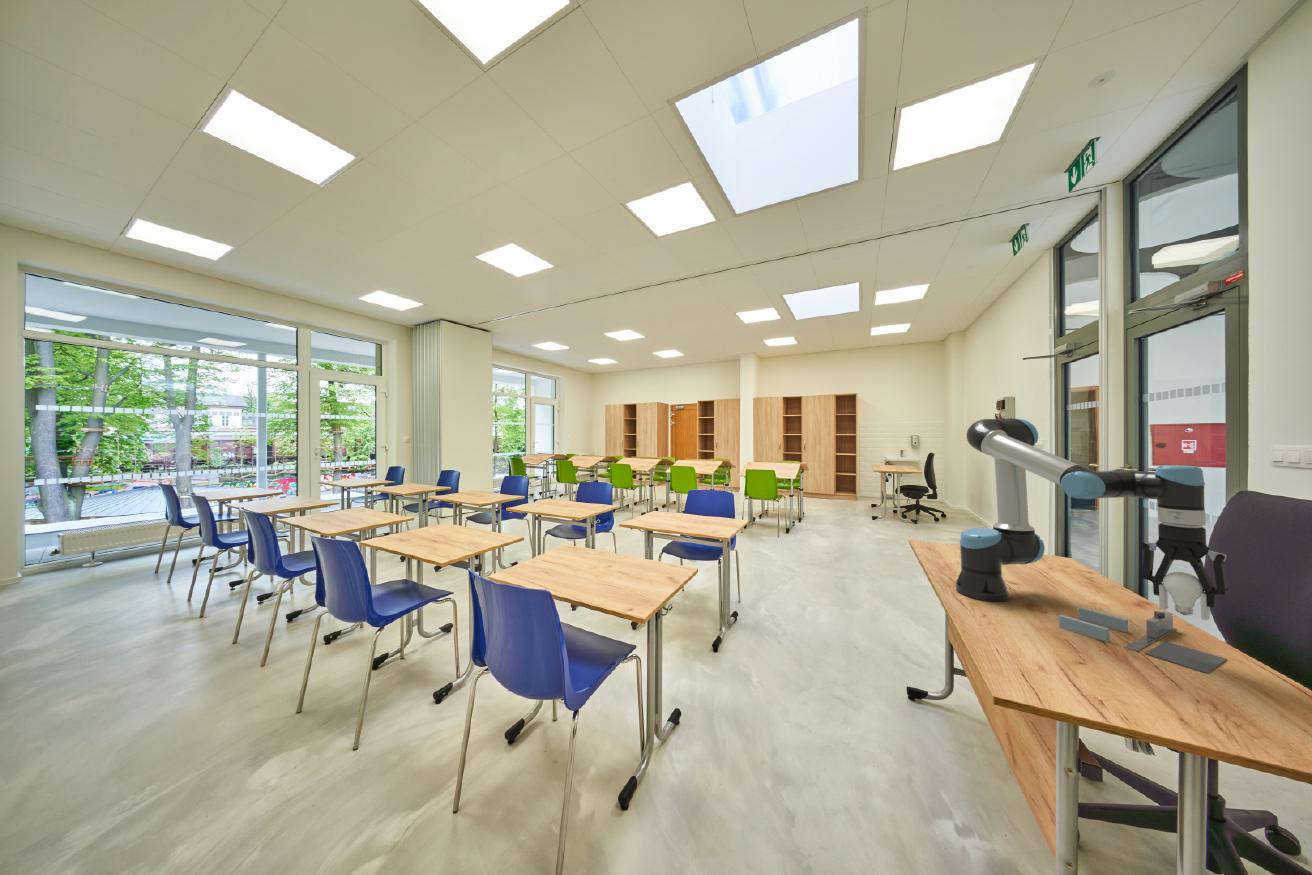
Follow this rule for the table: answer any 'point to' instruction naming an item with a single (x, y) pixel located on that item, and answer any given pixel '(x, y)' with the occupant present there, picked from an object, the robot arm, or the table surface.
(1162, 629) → the latch bar
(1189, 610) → the light bulb
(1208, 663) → the mat
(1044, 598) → the table surface
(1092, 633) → the channel
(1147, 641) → the track
